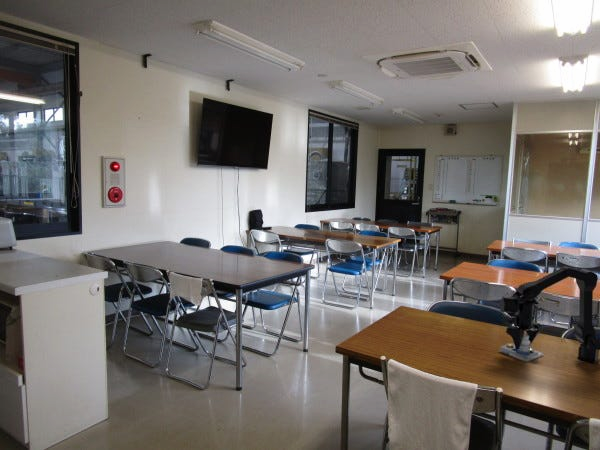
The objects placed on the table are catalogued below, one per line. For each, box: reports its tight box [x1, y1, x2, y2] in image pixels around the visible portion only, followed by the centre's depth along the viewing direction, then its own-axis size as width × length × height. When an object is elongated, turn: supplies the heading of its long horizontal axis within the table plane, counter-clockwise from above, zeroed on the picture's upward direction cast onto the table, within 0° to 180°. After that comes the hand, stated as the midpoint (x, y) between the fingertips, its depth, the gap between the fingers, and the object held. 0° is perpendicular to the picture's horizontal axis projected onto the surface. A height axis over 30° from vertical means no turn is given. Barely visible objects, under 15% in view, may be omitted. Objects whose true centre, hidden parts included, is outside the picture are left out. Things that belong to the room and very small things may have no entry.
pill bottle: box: [516, 333, 531, 355], centre depth 187 cm, size 6×5×10 cm
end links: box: [499, 342, 544, 362], centre depth 190 cm, size 12×13×3 cm
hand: (523, 347), depth 187 cm, fingers open, 9 cm apart
